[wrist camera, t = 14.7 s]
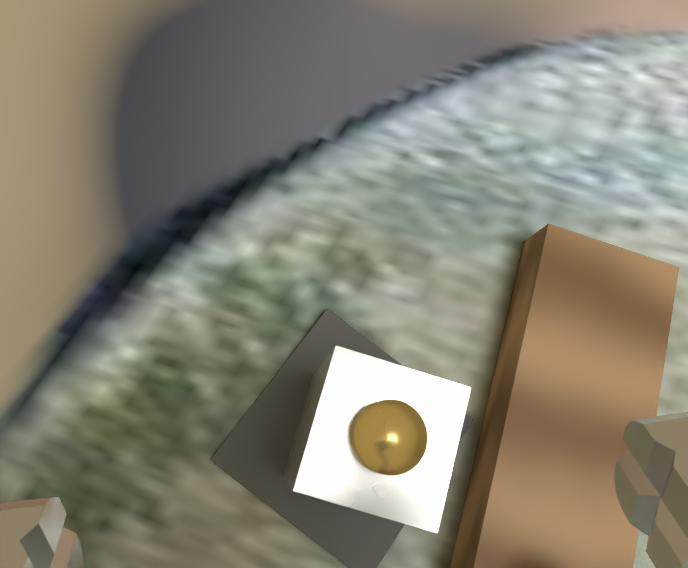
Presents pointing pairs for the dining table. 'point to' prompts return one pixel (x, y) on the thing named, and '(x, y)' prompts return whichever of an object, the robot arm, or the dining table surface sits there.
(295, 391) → the mat
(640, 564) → the dining table surface
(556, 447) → the body
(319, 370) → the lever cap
